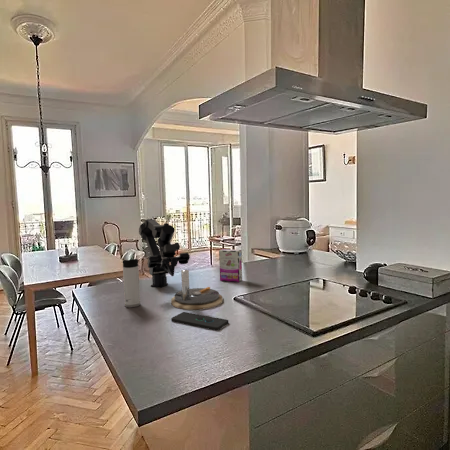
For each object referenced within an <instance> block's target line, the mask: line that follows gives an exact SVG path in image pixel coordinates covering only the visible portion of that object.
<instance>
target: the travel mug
mask: <svg viewBox="0 0 450 450" xmlns="http://www.w3.org/2000/svg"><path fill="white" fill-rule="evenodd" d="M139 273H140V269H139V259H138V258H133V259H132V258H131V259H123V260H122V276H123V278H122V279H123V293H124V306H125V308H137V307H139V306H140V305H141V297H140V296H141V295H140V294H141V292H140V291H141V290H140V274H139Z"/></svg>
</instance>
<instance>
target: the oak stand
mask: <svg viewBox="0 0 450 450" xmlns="http://www.w3.org/2000/svg"><path fill="white" fill-rule="evenodd" d="M170 302H171V303H170V304H171V305H172V306H173V307H175V308H176V309H181V310H188V311H190V310H191V311H197V310H200V311H201V310H206V309H211V308H215V307H218V306H220V305H221V304H222V303H223V296H222V295H221V294H220V293H219V299H218V300H216V301H214V302H212V303H208V304H202V305H186V304H181V303H178V302H176V301H175V295H174V296H173V297H172V298H171V300H170Z"/></svg>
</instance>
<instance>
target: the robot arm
mask: <svg viewBox="0 0 450 450" xmlns="http://www.w3.org/2000/svg"><path fill="white" fill-rule="evenodd" d="M175 229H176V228H175V227H173V225H171V224H169V222H167V223H166V222H165V223H164V224H161V223H159V222H158V221H156V219H154V218H150V219H149V218H148V219H147V218H146V219H145V220H144V221H143V223H141V224H140V225H139V228H138V234H139V235H140V238H141V239H142V240H143V241H145V242H146V244H147V248H148V251H149V254H150V256H149V257H148V259H147V267H148V268H149V269H148V270H149V275H150V276H151V277H152V284H151V285H150V287H154V288H163V287H165V286H167V285H169V283H167V282H168V280H167V274H169V275H170V276H171V277H174V276H175V267H177V266H178V264H179V265H187V264H188V263H189V261H190V258H191V256H190V254H189V252H181V253H179V256H178V255H177V256H176V254H177V253H176V252H177V251H179V250H180V249H181V246H180V243H179V242H174V243H171V241H172V239H173V236H174V234H175V231H176V230H175ZM156 239H157V240H156Z"/></svg>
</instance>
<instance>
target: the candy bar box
mask: <svg viewBox="0 0 450 450" xmlns="http://www.w3.org/2000/svg"><path fill="white" fill-rule="evenodd" d="M242 254H243V253H242V249H226V248H225V249H224V248H223V249H220V250H219V251H218V256H219V257H218V258H219V259H218V260H219V281H220V282H232V283H240V282H242V281H243V258H242V257H243V255H242Z"/></svg>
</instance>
